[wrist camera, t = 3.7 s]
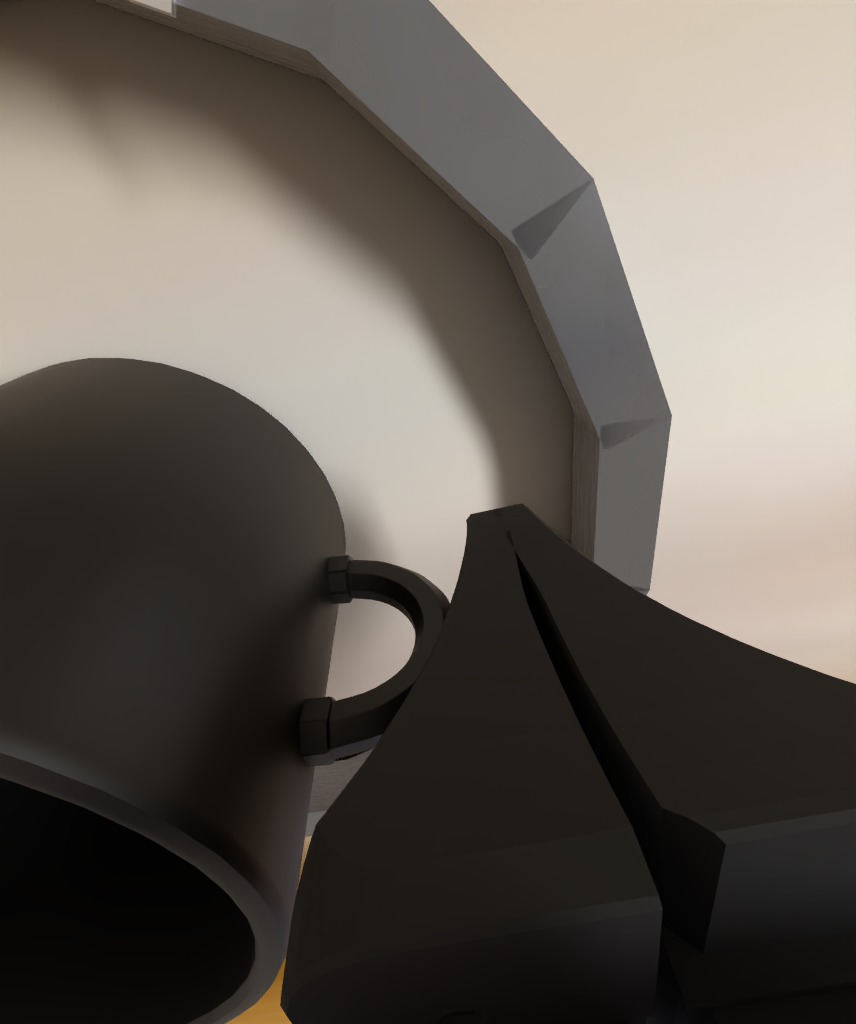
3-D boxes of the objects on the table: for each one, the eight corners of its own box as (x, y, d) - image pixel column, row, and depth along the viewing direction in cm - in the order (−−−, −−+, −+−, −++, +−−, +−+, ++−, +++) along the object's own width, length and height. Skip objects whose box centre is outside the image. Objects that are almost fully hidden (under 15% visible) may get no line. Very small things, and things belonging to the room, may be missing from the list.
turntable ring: (475, 818, 21) (483, 871, 20) (-191, 762, 17) (-257, 823, 15) (850, 152, 10) (948, 138, 8) (-978, -572, 5) (-1626, -945, 4)
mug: (447, 632, 16) (497, 1026, 8) (72, 666, 16) (-240, 1103, 8) (427, 326, 11) (503, 580, 3) (-115, 370, 11) (-1373, 751, 3)
